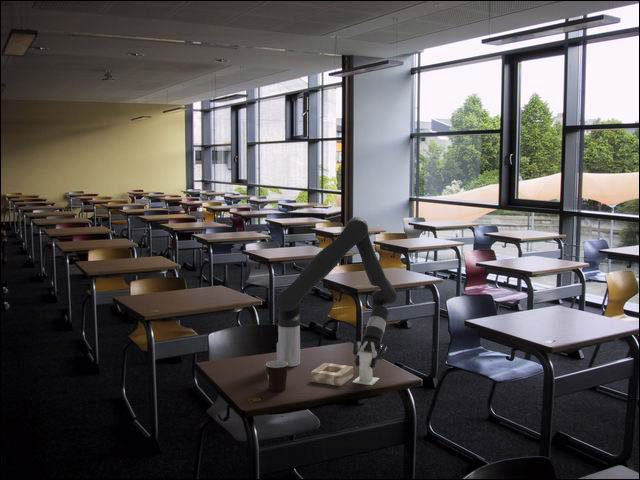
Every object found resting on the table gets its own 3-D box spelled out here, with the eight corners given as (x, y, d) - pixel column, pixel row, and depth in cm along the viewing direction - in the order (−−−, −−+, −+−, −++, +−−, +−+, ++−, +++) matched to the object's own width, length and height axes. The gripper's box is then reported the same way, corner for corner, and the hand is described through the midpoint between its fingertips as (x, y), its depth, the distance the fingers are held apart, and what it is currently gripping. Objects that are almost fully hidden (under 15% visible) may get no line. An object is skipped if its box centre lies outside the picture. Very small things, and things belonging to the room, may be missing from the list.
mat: (352, 382, 254) (352, 381, 254) (360, 375, 262) (360, 375, 262) (372, 385, 251) (372, 384, 251) (379, 378, 258) (379, 378, 258)
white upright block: (355, 382, 253) (355, 355, 252) (362, 376, 260) (362, 350, 258) (367, 384, 251) (367, 357, 250) (374, 378, 257) (374, 352, 256)
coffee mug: (285, 393, 242) (285, 368, 241) (263, 392, 244) (262, 366, 243) (292, 383, 254) (292, 358, 252) (271, 382, 255) (271, 357, 254)
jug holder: (311, 381, 255) (311, 371, 255) (324, 371, 267) (324, 362, 266) (340, 386, 250) (340, 376, 250) (353, 376, 262) (353, 366, 261)
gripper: (356, 323, 263) (344, 359, 254) (389, 327, 257) (379, 364, 248) (361, 332, 269) (350, 368, 260) (393, 336, 263) (383, 373, 253)
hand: (364, 366), depth 254 cm, fingers open, 5 cm apart
